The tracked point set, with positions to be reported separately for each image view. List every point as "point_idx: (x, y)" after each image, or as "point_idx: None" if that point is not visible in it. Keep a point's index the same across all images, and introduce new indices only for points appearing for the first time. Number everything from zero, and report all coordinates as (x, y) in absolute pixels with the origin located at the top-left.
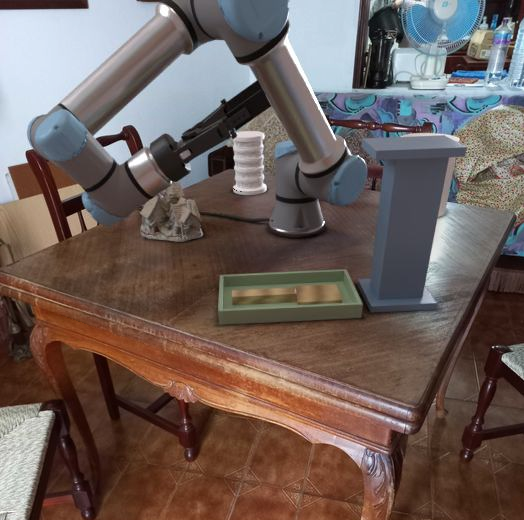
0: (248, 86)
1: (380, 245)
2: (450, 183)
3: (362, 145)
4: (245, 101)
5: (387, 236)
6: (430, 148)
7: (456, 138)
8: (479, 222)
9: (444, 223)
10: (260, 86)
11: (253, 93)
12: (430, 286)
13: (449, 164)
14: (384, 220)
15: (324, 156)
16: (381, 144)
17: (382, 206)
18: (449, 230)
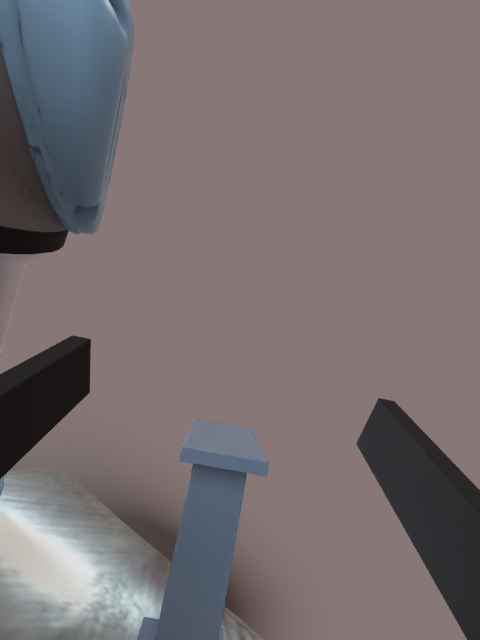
0: (42, 358)
1: (197, 616)
2: None
3: (185, 457)
4: (451, 461)
5: (226, 587)
6: (255, 438)
7: None
8: (45, 488)
9: (11, 510)
10: (88, 362)
11: (59, 390)
12: (159, 614)
13: None
14: (211, 563)
15: None
16: (230, 449)
17: (196, 542)
18: (34, 516)
